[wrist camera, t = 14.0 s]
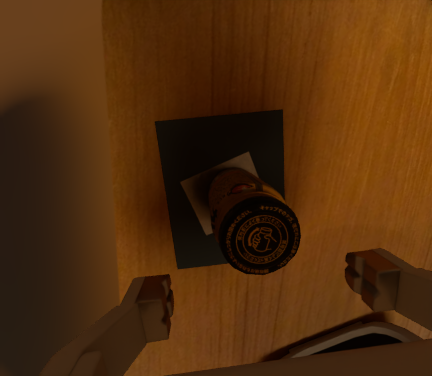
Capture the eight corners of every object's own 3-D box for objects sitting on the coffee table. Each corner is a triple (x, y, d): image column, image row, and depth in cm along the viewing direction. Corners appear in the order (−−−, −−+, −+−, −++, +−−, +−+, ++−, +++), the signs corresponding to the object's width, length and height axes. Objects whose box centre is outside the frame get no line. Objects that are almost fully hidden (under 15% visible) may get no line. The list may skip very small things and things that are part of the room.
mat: (156, 122, 23) (154, 121, 22) (280, 110, 23) (282, 109, 22) (178, 265, 27) (177, 269, 26) (283, 253, 27) (285, 256, 26)
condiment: (270, 207, 25) (328, 264, 13) (206, 234, 25) (208, 314, 13) (248, 151, 23) (293, 160, 12) (180, 181, 24) (156, 220, 12)
